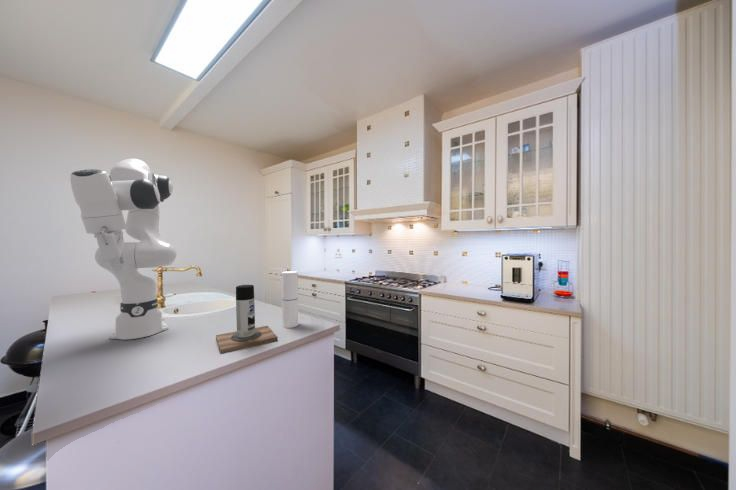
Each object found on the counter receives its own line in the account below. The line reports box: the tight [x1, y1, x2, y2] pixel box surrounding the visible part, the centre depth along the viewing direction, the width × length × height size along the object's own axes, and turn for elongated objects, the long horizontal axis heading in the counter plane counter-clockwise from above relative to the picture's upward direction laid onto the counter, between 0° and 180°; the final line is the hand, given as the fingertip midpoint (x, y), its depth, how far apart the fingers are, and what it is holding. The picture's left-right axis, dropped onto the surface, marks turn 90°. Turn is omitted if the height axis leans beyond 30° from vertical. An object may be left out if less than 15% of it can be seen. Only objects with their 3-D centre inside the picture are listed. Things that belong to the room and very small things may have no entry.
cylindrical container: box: [281, 270, 299, 329], centre depth 121 cm, size 7×7×25 cm
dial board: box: [215, 325, 278, 354], centre depth 104 cm, size 16×20×2 cm
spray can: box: [235, 284, 256, 338], centre depth 104 cm, size 7×7×20 cm
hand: (119, 267), depth 82 cm, fingers open, 8 cm apart
